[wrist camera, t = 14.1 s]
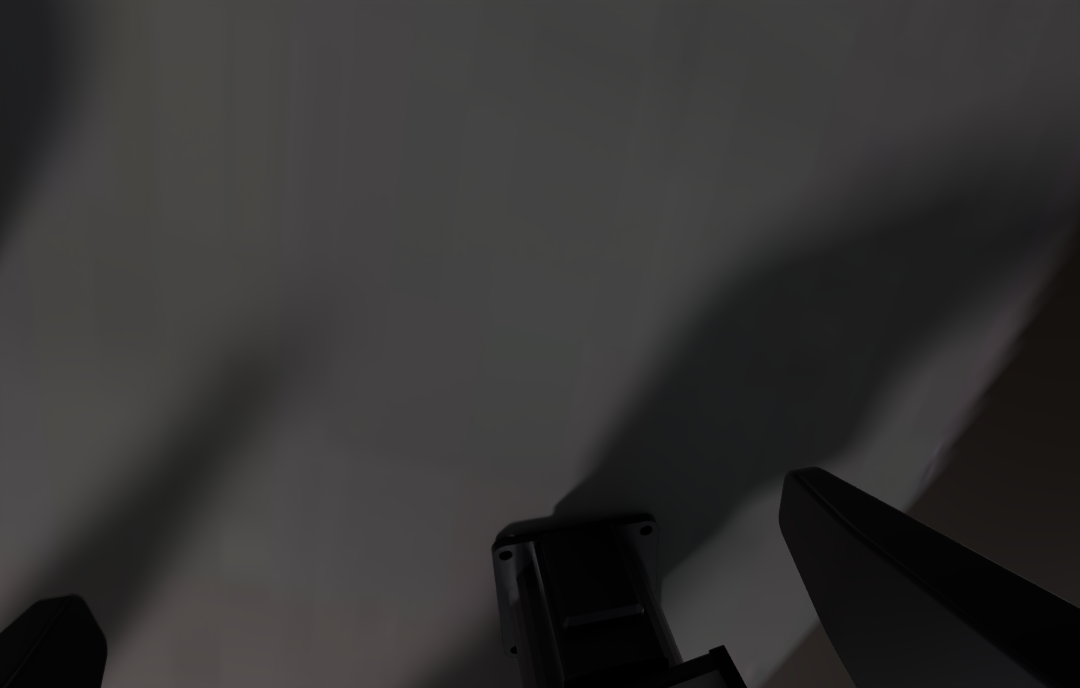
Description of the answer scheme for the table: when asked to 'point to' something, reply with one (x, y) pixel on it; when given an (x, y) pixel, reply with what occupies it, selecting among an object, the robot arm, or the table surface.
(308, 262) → the table surface
